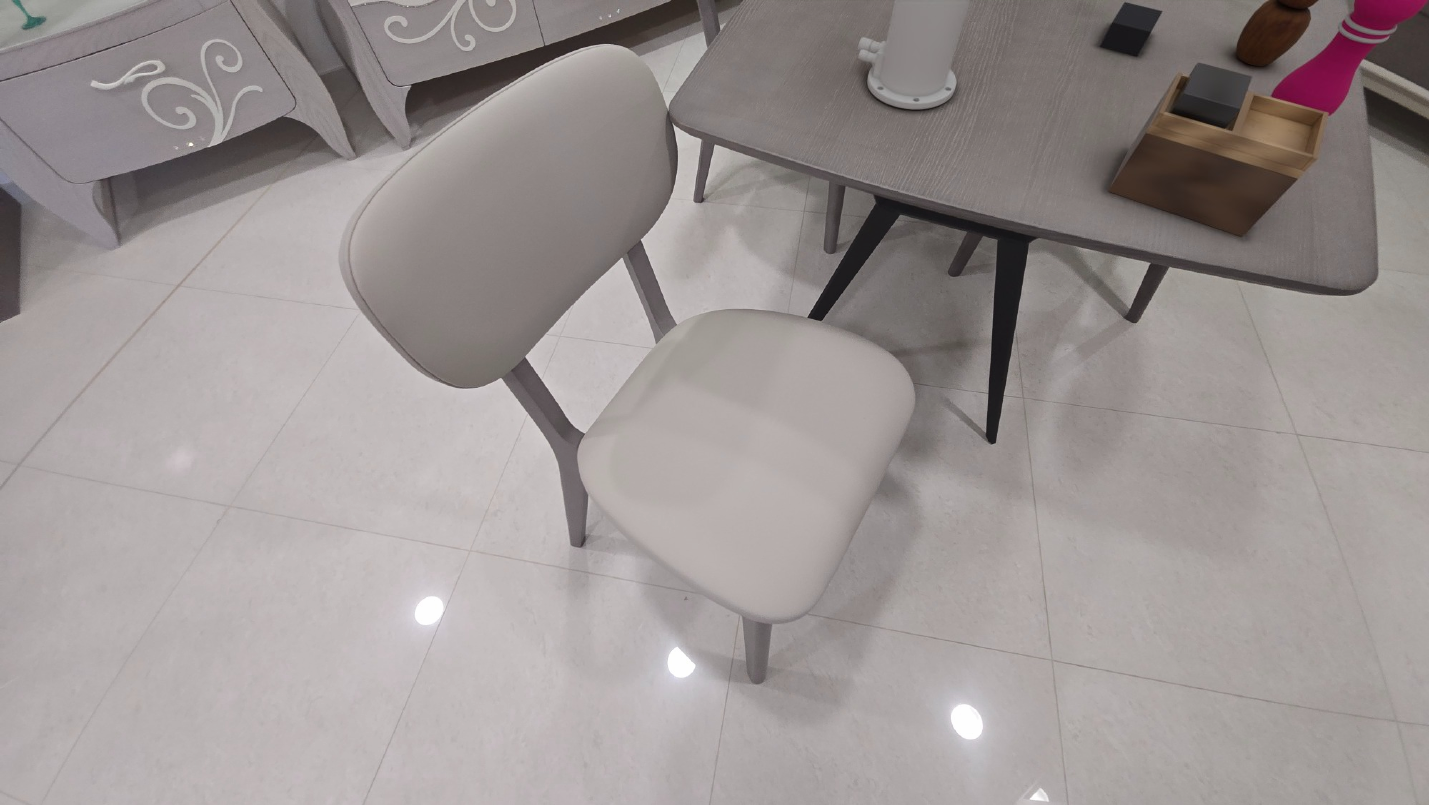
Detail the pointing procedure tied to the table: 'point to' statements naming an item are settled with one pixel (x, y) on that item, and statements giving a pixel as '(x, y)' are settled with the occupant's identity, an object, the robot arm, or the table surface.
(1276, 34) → the wooden figurine
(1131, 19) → the black block
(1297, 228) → the table surface
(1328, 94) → the pink bowling pin
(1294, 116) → the wooden divided box
